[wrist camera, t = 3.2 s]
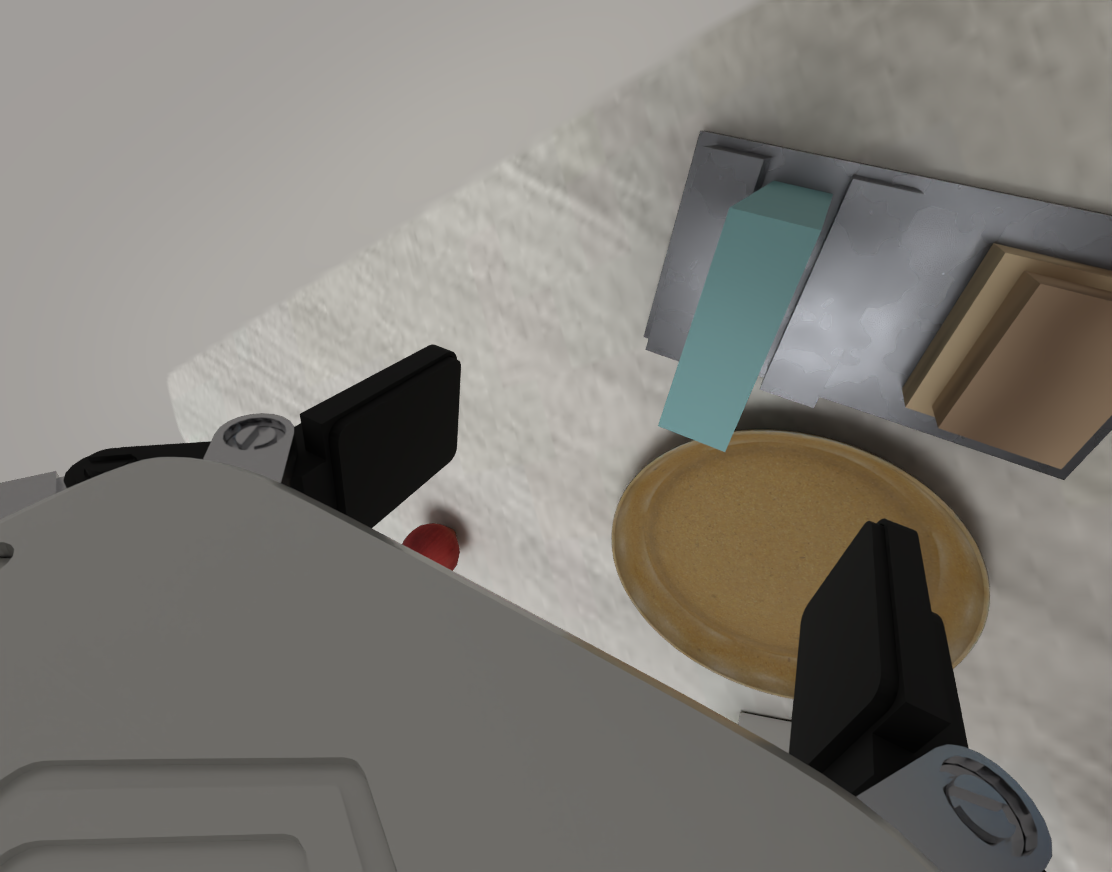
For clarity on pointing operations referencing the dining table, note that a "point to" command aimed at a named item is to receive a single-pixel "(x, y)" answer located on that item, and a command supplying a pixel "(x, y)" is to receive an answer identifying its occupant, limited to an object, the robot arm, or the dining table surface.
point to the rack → (863, 272)
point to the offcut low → (985, 315)
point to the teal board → (742, 308)
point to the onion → (435, 544)
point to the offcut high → (1036, 372)
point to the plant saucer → (775, 547)
